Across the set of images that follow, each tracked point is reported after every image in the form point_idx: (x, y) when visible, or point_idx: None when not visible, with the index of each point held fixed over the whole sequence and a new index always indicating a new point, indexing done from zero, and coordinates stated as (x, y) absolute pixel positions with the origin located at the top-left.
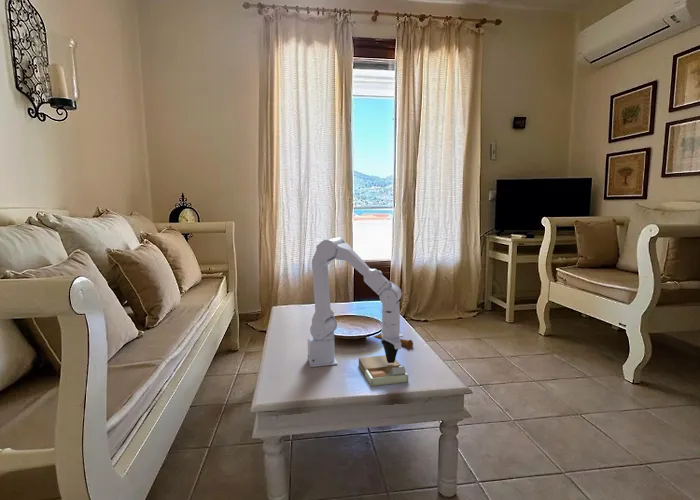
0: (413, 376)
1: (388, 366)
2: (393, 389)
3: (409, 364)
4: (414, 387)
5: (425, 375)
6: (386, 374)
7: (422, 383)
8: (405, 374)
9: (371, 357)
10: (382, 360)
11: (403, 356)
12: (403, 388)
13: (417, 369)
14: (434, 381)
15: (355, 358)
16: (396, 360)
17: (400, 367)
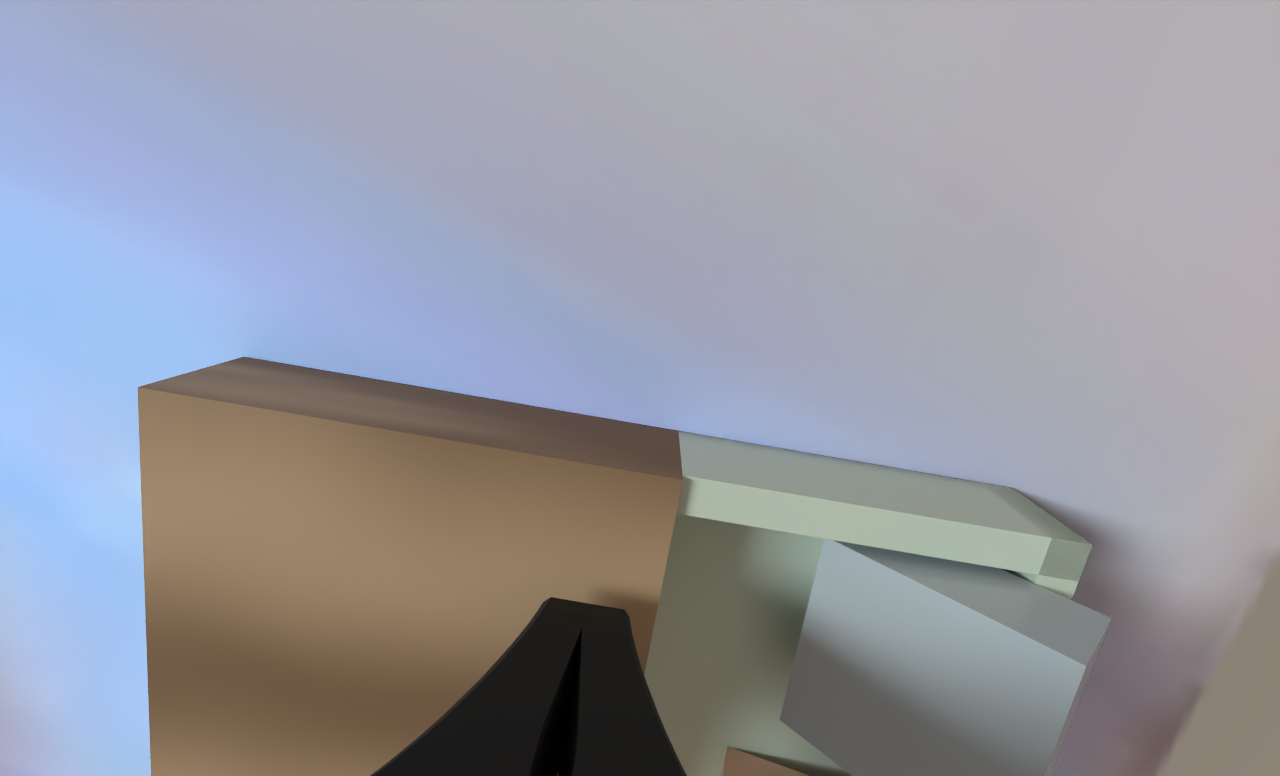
0: (891, 312)
1: None
2: (1073, 749)
3: (441, 115)
4: (1197, 491)
5: (965, 92)
6: (683, 667)
7: (1171, 313)
8: (1050, 580)
9: (184, 769)
10: (365, 670)
11: (59, 23)
12: (1127, 634)
13: (689, 91)
14: (1241, 74)
15: (4, 769)
16: (449, 444)
17: (1056, 735)
